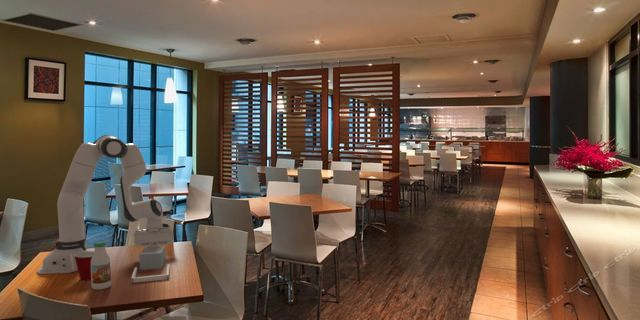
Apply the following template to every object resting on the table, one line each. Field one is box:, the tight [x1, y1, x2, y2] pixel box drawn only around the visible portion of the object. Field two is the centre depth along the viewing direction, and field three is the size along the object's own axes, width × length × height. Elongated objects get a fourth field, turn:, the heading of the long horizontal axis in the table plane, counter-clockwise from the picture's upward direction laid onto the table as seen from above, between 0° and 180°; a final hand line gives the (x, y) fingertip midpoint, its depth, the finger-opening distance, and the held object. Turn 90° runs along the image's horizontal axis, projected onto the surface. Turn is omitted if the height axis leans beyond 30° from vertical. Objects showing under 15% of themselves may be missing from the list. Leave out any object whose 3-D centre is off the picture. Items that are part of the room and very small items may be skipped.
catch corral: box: [130, 263, 170, 284], centre depth 212 cm, size 16×17×2 cm
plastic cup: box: [74, 250, 94, 281], centre depth 207 cm, size 11×11×12 cm
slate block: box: [139, 245, 167, 271], centre depth 227 cm, size 10×14×8 cm
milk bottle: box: [90, 240, 112, 291], centre depth 196 cm, size 8×8×20 cm
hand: (154, 250), depth 237 cm, fingers closed
